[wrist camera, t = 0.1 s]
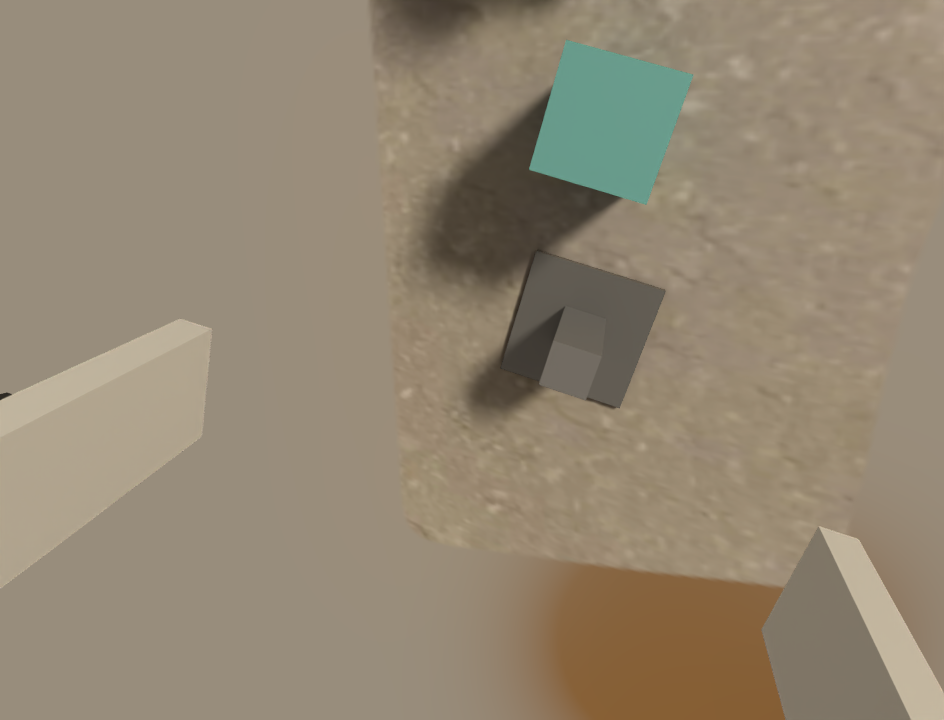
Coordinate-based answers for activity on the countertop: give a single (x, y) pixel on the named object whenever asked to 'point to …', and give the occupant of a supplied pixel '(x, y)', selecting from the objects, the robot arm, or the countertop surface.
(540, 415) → the countertop surface
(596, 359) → the grey square base plate
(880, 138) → the countertop surface
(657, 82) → the tall teal pillar
